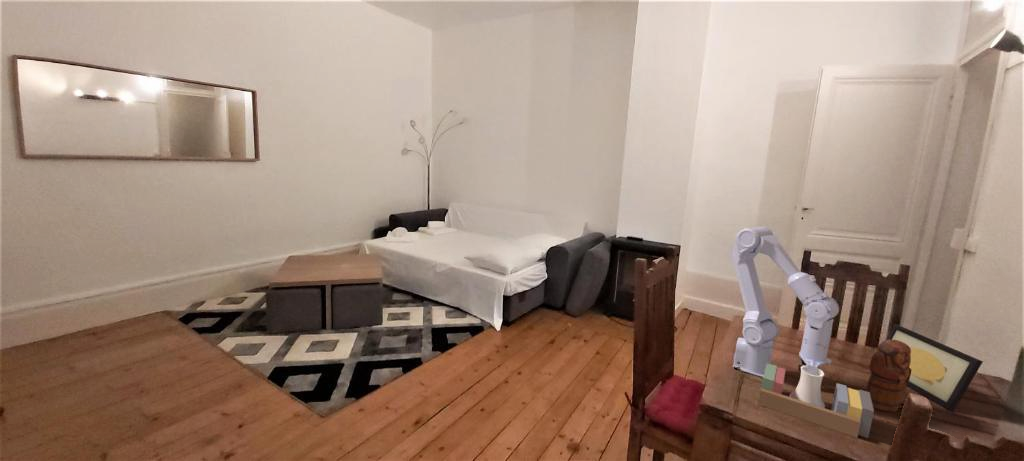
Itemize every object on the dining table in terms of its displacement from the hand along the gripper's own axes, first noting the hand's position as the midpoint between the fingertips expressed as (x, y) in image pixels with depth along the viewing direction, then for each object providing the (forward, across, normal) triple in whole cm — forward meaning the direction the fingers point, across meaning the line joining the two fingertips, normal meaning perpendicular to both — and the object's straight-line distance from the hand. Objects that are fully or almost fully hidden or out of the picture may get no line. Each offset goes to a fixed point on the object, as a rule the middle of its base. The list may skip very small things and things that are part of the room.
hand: (807, 386), depth 111 cm
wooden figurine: (+2, +8, -17) cm, 19 cm away
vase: (+2, -8, 0) cm, 8 cm away
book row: (+2, -10, -1) cm, 10 cm away
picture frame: (+2, +27, -27) cm, 38 cm away
